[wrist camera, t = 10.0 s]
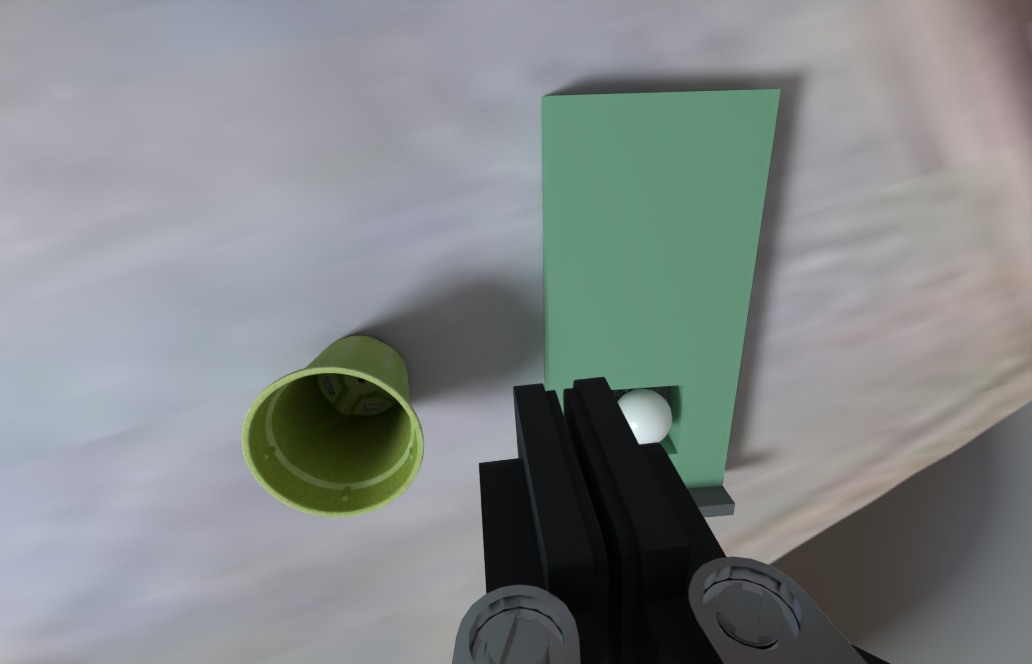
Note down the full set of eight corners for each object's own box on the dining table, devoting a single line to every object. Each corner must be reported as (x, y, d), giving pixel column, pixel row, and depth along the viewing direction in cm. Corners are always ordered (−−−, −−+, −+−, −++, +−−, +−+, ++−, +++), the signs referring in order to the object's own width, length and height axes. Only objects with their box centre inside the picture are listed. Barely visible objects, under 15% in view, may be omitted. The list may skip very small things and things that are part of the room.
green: (541, 97, 31) (553, 94, 27) (758, 90, 32) (802, 87, 28) (545, 489, 42) (554, 530, 37) (707, 476, 42) (733, 514, 38)
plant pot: (267, 331, 35) (208, 397, 27) (406, 293, 35) (389, 347, 27) (323, 447, 38) (286, 535, 30) (449, 412, 38) (445, 492, 30)
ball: (619, 390, 36) (622, 451, 35) (678, 387, 36) (682, 448, 35) (606, 389, 40) (609, 444, 39) (660, 387, 40) (663, 441, 39)
